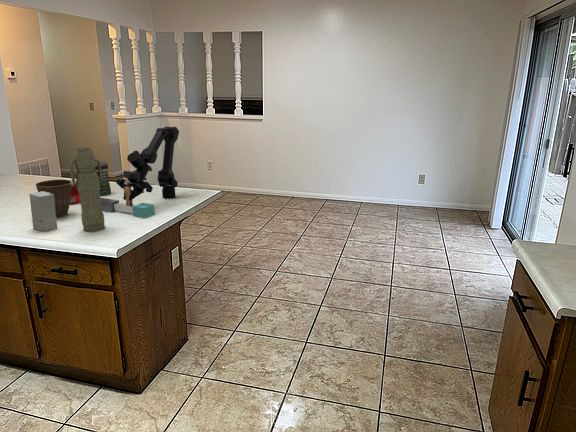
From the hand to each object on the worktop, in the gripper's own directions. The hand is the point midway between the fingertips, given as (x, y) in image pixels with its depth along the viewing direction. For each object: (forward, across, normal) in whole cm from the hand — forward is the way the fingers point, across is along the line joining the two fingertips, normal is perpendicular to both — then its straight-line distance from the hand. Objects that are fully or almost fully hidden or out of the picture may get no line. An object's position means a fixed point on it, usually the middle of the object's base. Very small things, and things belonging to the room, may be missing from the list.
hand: (126, 200), depth 204 cm
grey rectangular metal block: (+4, -16, +6) cm, 18 cm away
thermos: (+21, +2, -11) cm, 24 cm away
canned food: (+3, -41, +8) cm, 42 cm away
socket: (+4, +8, +6) cm, 11 cm away
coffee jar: (-11, -41, +22) cm, 48 cm away
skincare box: (+27, -17, -17) cm, 36 cm away
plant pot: (+16, -29, -6) cm, 33 cm away
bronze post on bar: (+3, -4, +5) cm, 8 cm away
